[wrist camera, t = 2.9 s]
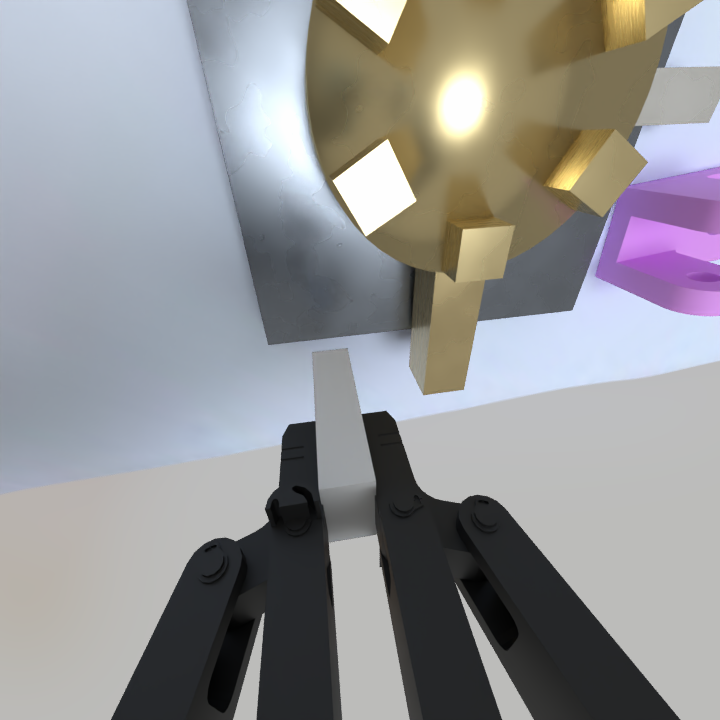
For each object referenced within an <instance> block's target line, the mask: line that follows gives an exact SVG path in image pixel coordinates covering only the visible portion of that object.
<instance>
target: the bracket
mask: <svg viewBox="0 0 720 720" xmlns="http://www.w3.org/2000/svg"><path fill="white" fill-rule="evenodd" d="M718 259H720V167H718V168H713V169H708V170H703V171H698V172H693V173H688V174H683V175H678V176H673V177H668V178H663V179H658V180H653V181H649V182H644V183H639V184H634V185H629V186H628V187H627V188H626V189H625V191H624V192H623V193H622V194H621V195H620V197H619V198H618V200H617V204H616V207H615V211H614V214H613V217H612V221H611V224H610V228H609V231H608V234H607V238H606V241H605V245H604V248H603V251H602V255H601V258H600V262H599V265H598V268H597V272H596V275H595V276H596V277H598V278H600V279H602V280H604V281H606V282H609V283H611V284H613V285H615V286H617V287H620V288H622V289H624V290H626V291H628V292H630V293H633V294H635V295H637V296H639V297H641V298H644V299H646V300H648V301H650V302H652V303H654V304H657V305H659V306H661V307H663V308H666V309H669V310H672V311H675V312H679V313H684V314H690V315H698V316H720V265H717V264H713V263H710V262H709V261H714V260H718Z"/></svg>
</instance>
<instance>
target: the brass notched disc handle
mask: <svg viewBox="0 0 720 720" xmlns="http://www.w3.org/2000/svg"><path fill="white" fill-rule="evenodd" d="M701 1H703V0H313V1H312V8H311V14H310V21H309V28H308V36H307V45H306V56H305V77H304V88H305V107H306V115H307V121H308V127H309V134H310V138H311V141H312V145H313V149H314V152H315V156H316V159H317V161H318V164H319V167H320V169H321V172H322V174H323V177H324V179H325V180H326V182H327V184H328V186H329V188H330V190H331V192H332V194H333V195H334V197H335V198H336V200H337V202H338V203H339V205H340V206H341V208H342V209H343V210H344V212H345V213H346V215H347V216H348V218H349V219H350V220H351V222H352V223H353V225H354V226H355V227H356V228H357V229H358V230H359V231H360V232H361V233H362V234H363V235H364V236H365V238H366V239H367V240H369V241H370V242H371V243H372V244H374V245H375V246H376V247H377V248H378V249H380V250H381V251H382V252H384V253H386V254H387V255H389V256H390V257H392V258H394V259H395V260H397V261H400V262H402V263H404V264H407V265H409V266H411V267H414V268H415V283H414V298H413V314H412V329H411V345H410V360H409V367H410V369H411V371H412V373H413V375H414V377H415V379H416V381H417V383H418V386H419V388H420V390H421V392H422V394H423V395H428V394H435V393H442V392H450V391H457V390H464V386H465V381H466V376H467V370H468V365H469V360H470V355H471V350H472V345H473V340H474V335H475V330H476V324H477V319H478V314H479V309H480V304H481V299H482V294H483V289H484V284H485V280H490V279H500V278H503V275H504V271H505V266H506V262H507V260H510V259H512V258H514V257H516V256H518V255H520V254H522V253H523V252H525V251H527V250H529V249H531V248H532V247H534V246H535V245H537V244H538V243H539V242H541V241H542V240H544V239H545V238H547V237H548V236H549V235H550V234H552V233H553V232H554V231H555V230H556V229H558V228H559V227H560V226H561V225H562V224H564V223H565V222H566V221H567V220H568V219H569V218H570V217H571V216H572V215H573V214H574V213H575V212H576V211H579V212H583V213H587V214H591V215H595V216H599V217H603V216H604V215H605V214H606V212H607V211H608V210H609V209H610V208H611V206H612V205H613V204H614V203H615V202H616V200H617V199H618V198H619V197H620V195H621V194H622V193H623V192H624V191H625V189H626V188H627V187H628V186H629V185H630V183H631V182H632V181H633V180H634V178H635V177H636V176H637V175H638V174H639V172H640V171H641V170H642V169H643V168H644V166H645V165H646V164H647V163H648V162H647V161H646V160H645V159H644V158H643V157H642V156H641V155H640V154H639V153H638V151H637V150H636V149H635V148H634V147H633V146H632V145H631V144H630V143H629V142H628V141H627V140H628V138H629V136H630V134H631V132H632V130H633V128H634V126H635V124H636V122H637V120H638V118H639V116H640V113H641V111H642V108H643V106H644V104H645V101H646V99H647V96H648V94H649V92H650V89H651V86H652V83H653V80H654V76H655V73H656V70H657V67H658V64H659V61H660V57H661V53H662V49H663V45H664V40H665V36H666V32H667V27H668V25H669V24H670V23H671V22H673V21H674V20H676V19H677V18H679V17H680V16H681V15H683V14H684V13H686V12H687V11H689V10H690V9H691V8H693V7H694V6H696V5H697V4H699V3H700V2H701Z"/></svg>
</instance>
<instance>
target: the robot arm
mask: <svg viewBox="0 0 720 720" xmlns="http://www.w3.org/2000/svg"><path fill="white" fill-rule="evenodd" d="M312 357H313V379H314V400H315V421H312V422H305V423H297V424H290V425H289V426H288V427H287V429H286V431H285V433H284V435H283V436H282V452H281V466H280V481H279V488H278V489H276V490H275V491H274V492H273V493H272V495H271V496H270V498H269V499H268V501H267V504H266V508H265V511H266V513H267V516H268V519H269V522H268V523H266V525H265V526H263V527H262V528H261V529H259V530H257V531H256V532H254V533H252V534H250V535H248V536H246V537H244V538H242V539H240V540H238V541H236V542H235V541H234V540H231V539H228V538H217V539H214V540H211V541H209V542H207V543H205V544H204V545H203V546H201V547H200V548H199V549H198V550H197V551H196V552H195V553H194V554H193V556H192V557H191V559H190V560H189V562H188V563H187V565H186V567H185V569H184V571H183V573H182V575H181V577H180V579H179V581H178V583H177V585H176V587H175V589H174V592H173V594H172V596H171V598H170V600H169V602H168V604H167V606H166V608H165V610H164V612H163V614H162V616H161V618H160V620H159V622H158V624H157V627H156V628H155V630H154V633H153V635H152V637H151V639H150V641H149V643H148V645H147V647H146V649H145V651H144V653H143V655H142V657H141V659H140V661H139V664H138V665H137V667H136V669H135V671H134V674H133V676H132V678H131V680H130V682H129V684H128V686H127V688H126V690H125V692H124V694H123V696H122V698H121V700H120V703H119V704H118V706H117V708H116V711H115V713H114V715H113V717H112V719H111V720H233V717H234V714H235V710H236V707H237V703H238V699H239V696H240V692H241V689H242V685H243V682H244V678H245V674H246V671H247V667H248V664H249V660H250V656H251V653H252V649H253V646H254V642H255V638H256V635H257V631H258V628H259V624H260V620H261V617H262V614H263V613H265V618H264V631H263V643H262V656H261V669H260V681H259V695H258V707H257V720H342V712H341V699H340V698H341V697H340V684H339V669H338V655H337V641H336V628H335V612H334V598H333V584H332V569H331V561H330V555H329V542H335V541H341V540H347V539H353V538H359V537H365V536H370V535H376V534H377V535H378V541H379V546H380V567H382V570H383V576H384V581H385V587H386V593H387V597H388V604H389V609H390V614H391V620H392V625H393V631H394V635H395V642H396V647H397V653H398V657H399V663H400V669H401V674H402V680H403V685H404V691H405V696H406V702H407V707H408V712H409V717H410V720H502V719H501V716H500V712H499V710H498V707H497V704H496V701H495V698H494V695H493V692H492V689H491V686H490V684H489V680H488V677H487V674H486V672H485V669H484V666H483V663H482V660H481V657H480V654H479V651H478V648H477V646H476V642H475V639H474V637H473V634H472V631H471V628H470V625H469V622H468V619H467V616H466V613H465V610H464V607H463V604H462V602H461V599H460V596H459V593H458V590H457V587H456V584H457V586H458V588H459V590H460V591H461V593H462V595H463V597H464V598H465V600H466V602H467V604H468V605H469V607H470V609H471V610H472V612H473V614H474V616H475V617H476V619H477V621H478V623H479V625H480V626H481V628H482V630H483V632H484V633H485V635H486V637H487V639H488V640H489V642H490V644H491V645H492V647H493V649H494V651H495V652H496V654H497V656H498V658H499V659H500V661H501V663H502V665H503V666H504V668H505V669H506V672H507V673H508V675H509V677H510V679H511V680H512V682H513V684H514V685H515V687H516V689H517V691H518V692H519V694H520V696H521V698H522V699H523V701H524V703H525V705H526V706H527V708H528V710H529V712H530V713H531V715H532V717H533V719H534V720H680V719H679V718H678V716H677V715H676V714H675V713H674V712H673V710H672V709H671V708H670V707H669V706H668V704H667V703H666V702H665V701H664V700H663V698H662V697H661V696H660V695H659V694H658V692H657V691H656V690H655V689H654V688H653V686H652V685H651V684H650V683H649V681H648V680H647V679H646V678H645V677H644V675H643V674H642V673H641V672H640V671H639V669H638V668H637V667H636V666H635V665H634V663H633V662H632V661H631V660H630V659H629V657H628V656H627V655H626V654H625V652H624V651H623V650H622V649H621V648H620V646H619V645H618V644H617V643H616V642H615V640H614V639H613V638H612V637H611V636H610V634H608V632H607V631H606V629H605V628H604V627H603V626H602V625H601V624H600V622H599V621H598V620H597V619H596V617H595V616H594V615H593V614H592V613H591V612H590V610H589V609H588V608H587V607H586V605H585V604H584V603H583V602H582V601H581V599H580V598H579V597H578V596H577V595H576V593H575V592H574V591H573V590H572V589H571V587H570V586H569V585H568V584H567V583H566V581H565V580H564V579H563V578H562V577H561V575H560V574H559V573H558V572H557V570H556V569H555V568H554V567H553V566H552V564H551V563H550V562H549V561H548V560H547V558H546V557H545V556H544V555H543V554H542V552H541V551H540V550H539V549H538V547H537V546H536V545H535V544H534V543H533V541H532V540H531V539H530V538H529V537H528V535H527V534H526V533H525V532H524V531H523V529H522V528H521V527H520V526H519V525H518V523H517V522H516V521H515V520H514V519H513V517H512V516H511V515H510V514H509V512H508V511H507V510H506V509H505V508H504V507H503V506H502V505H501V504H500V503H498V502H497V501H496V500H494V499H492V498H490V497H487V496H481V495H474V496H470V497H468V498H467V499H465V500H464V501H463V502H462V503H461V504H460V503H454V502H448V501H442V500H438V499H434V498H433V497H431V496H429V495H427V494H426V493H425V492H423V491H422V490H421V489H420V487H419V486H418V485H417V484H416V481H415V479H414V476H413V473H412V470H411V467H410V464H409V461H408V458H407V455H406V452H405V449H404V446H403V444H402V440H401V437H400V435H399V431H398V428H397V425H396V421H395V420H394V419H393V418H392V416H391V415H390V414H389V413H388V412H387V411H382V412H374V413H367V414H361V409H360V405H359V400H358V395H357V391H356V386H355V382H354V377H353V372H352V368H351V363H350V358H349V354H348V349H347V348H345V349H336V350H327V351H318V352H312ZM455 583H456V584H455Z"/></svg>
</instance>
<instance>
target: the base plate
mask: <svg viewBox="0 0 720 720" xmlns="http://www.w3.org/2000/svg"><path fill="white" fill-rule="evenodd" d="M312 1H313V0H187V3H188V7H189V12H190V16H191V20H192V24H193V28H194V33H195V37H196V41H197V45H198V50H199V54H200V58H201V62H202V66H203V71H204V75H205V79H206V83H207V88H208V92H209V96H210V100H211V104H212V109H213V113H214V117H215V121H216V126H217V130H218V134H219V138H220V143H221V147H222V151H223V155H224V159H225V164H226V168H227V172H228V176H229V181H230V185H231V189H232V193H233V197H234V202H235V206H236V210H237V214H238V219H239V223H240V227H241V231H242V235H243V240H244V244H245V248H246V252H247V257H248V261H249V265H250V269H251V273H252V278H253V282H254V286H255V290H256V295H257V299H258V303H259V307H260V311H261V316H262V320H263V324H264V328H265V333H266V337H267V341H268V345H272V344H281V343H290V342H299V341H308V340H316V339H325V338H334V337H343V336H352V335H360V334H369V333H378V332H387V331H395V330H404V329H412V314H413V298H414V283H415V268H414V267H411V266H409V265H407V264H404V263H402V262H400V261H397V260H395V259H394V258H392V257H390V256H389V255H387V254H386V253H384V252H382V251H381V250H380V249H378V248H377V247H376V246H375V245H374V244H372V243H371V242H370V241H369V240H367V239H366V238H365V236H364V235H363V234H362V233H361V232H360V231H359V230H358V229H357V228H356V227H355V226H354V225H353V223H352V222H351V220H350V219H349V218H348V216H347V215H346V213H345V212H344V210H343V209H342V208H341V206H340V205H339V203H338V202H337V200H336V198H335V197H334V195H333V194H332V192H331V190H330V188H329V186H328V184H327V182H326V180H325V179H324V177H323V174H322V172H321V169H320V167H319V164H318V161H317V159H316V156H315V152H314V149H313V145H312V141H311V138H310V134H309V127H308V121H307V115H306V107H305V88H304V77H305V56H306V45H307V36H308V28H309V21H310V14H311V8H312ZM684 15H685V13H684V14H683V15H681V16H680V17H679V18H677V19H676V20H674V21H673V22H671V23H670V24H669V25H668V27H667V32H666V36H665V40H664V45H663V49H662V53H661V57H660V61H659V64H658V67H657V70H656V73H655V76H654V80H653V83H652V86H651V89H650V92H649V94H648V96H647V99H646V101H645V104H644V106H643V108H642V111H641V113H640V116H639V118H638V120H637V122H636V124H635V126H634V128H633V130H632V132H631V134H630V136H629V138H628V140H627V141H628V142H629V143H630V144H631V145H632V146H633V147H634V146H635V144H636V141H637V139H638V136H639V133H640V131H641V128H642V126H644V125H666V124H688V123H709V121H710V118H711V116H712V114H713V112H714V110H715V108H716V106H717V104H718V102H719V99H720V67H678V68H664V67H665V65H666V62H667V60H668V57H669V54H670V52H671V49H672V46H673V44H674V41H675V39H676V36H677V33H678V31H679V28H680V25H681V23H682V20H683V17H684ZM611 207H612V206H611ZM610 210H611V208H610V209H609V210H608V211H607V212H606V214H605V215H604V216H603V217H599V216H595V215H591V214H587V213H583V212H579V211H576V212H575V213H574V214H573V215H572V216H571V217H570V218H569V219H568V220H567V221H566V222H565V223H564V224H562V225H561V226H560V227H559V228H558V229H556V230H555V231H554V232H553V233H552V234H550V235H549V236H548V237H547V238H545V239H544V240H542V241H541V242H539V243H538V244H537V245H535V246H534V247H532V248H531V249H529V250H527V251H525V252H523V253H522V254H520V255H518V256H516V257H514V258H512V259H510V260H507V262H506V266H505V271H504V275H503V278H500V279H490V280H485V284H484V289H483V294H482V299H481V304H480V309H479V314H478V319H477V321H483V320H492V319H501V318H510V317H519V316H527V315H536V314H545V313H554V312H562V311H571V310H573V307H574V305H575V302H576V299H577V297H578V294H579V291H580V289H581V286H582V283H583V281H584V278H585V276H586V273H587V270H588V268H589V265H590V262H591V260H592V257H593V254H594V252H595V249H596V247H597V244H598V241H599V239H600V236H601V233H602V231H603V228H604V226H605V223H606V220H607V218H608V215H609V212H610Z"/></svg>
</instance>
